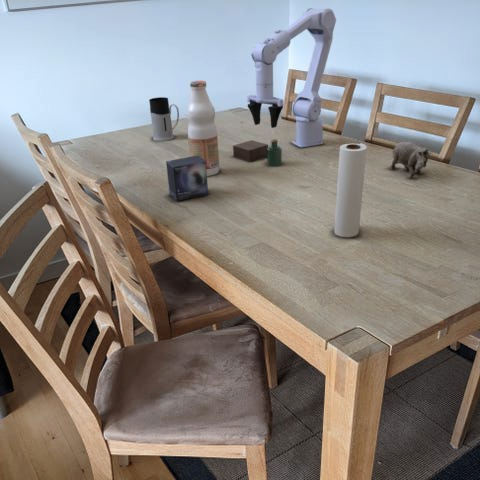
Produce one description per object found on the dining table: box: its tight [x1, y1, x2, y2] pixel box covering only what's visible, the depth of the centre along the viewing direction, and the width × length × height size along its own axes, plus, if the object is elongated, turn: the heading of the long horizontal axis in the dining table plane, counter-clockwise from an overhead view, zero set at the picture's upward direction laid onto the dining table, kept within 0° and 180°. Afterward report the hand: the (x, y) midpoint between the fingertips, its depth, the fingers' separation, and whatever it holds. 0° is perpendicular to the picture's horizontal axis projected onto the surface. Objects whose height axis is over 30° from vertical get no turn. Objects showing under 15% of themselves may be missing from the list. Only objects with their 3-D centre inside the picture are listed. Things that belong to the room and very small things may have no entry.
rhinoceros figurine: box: [389, 140, 432, 180], centre depth 157 cm, size 8×14×15 cm
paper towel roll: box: [333, 142, 368, 238], centre depth 120 cm, size 7×6×21 cm
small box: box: [165, 155, 209, 202], centre depth 150 cm, size 11×6×10 cm, turn 118°
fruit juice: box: [185, 80, 220, 177], centre depth 162 cm, size 9×9×28 cm
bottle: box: [266, 138, 283, 167], centre depth 172 cm, size 5×5×8 cm
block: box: [232, 139, 269, 163], centre depth 181 cm, size 9×9×4 cm
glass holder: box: [148, 96, 180, 142], centre depth 203 cm, size 9×14×15 cm, turn 54°
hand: (265, 125), depth 177 cm, fingers open, 7 cm apart
